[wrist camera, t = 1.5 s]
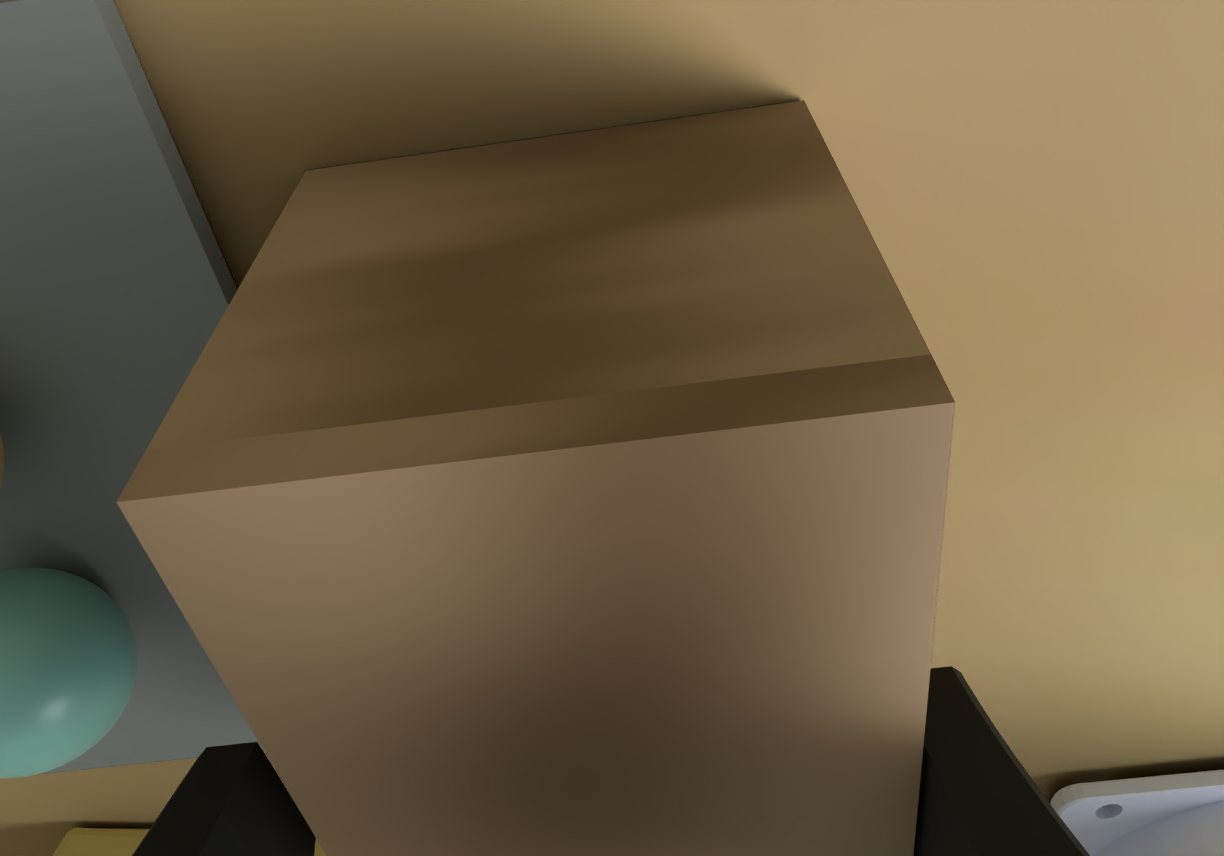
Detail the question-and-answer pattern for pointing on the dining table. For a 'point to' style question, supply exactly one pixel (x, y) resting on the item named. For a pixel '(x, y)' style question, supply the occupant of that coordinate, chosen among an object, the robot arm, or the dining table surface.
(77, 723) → the marble teal
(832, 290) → the walnut cover
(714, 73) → the dining table surface
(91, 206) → the mat
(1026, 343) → the dining table surface
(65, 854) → the cheese
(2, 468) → the marble amber
